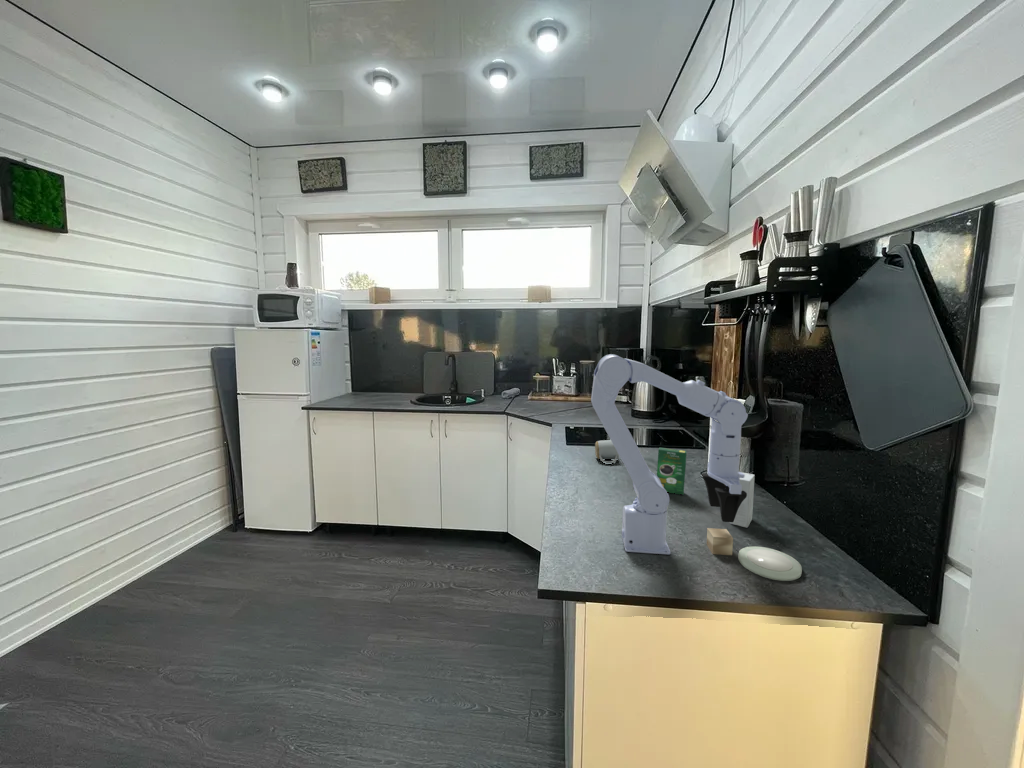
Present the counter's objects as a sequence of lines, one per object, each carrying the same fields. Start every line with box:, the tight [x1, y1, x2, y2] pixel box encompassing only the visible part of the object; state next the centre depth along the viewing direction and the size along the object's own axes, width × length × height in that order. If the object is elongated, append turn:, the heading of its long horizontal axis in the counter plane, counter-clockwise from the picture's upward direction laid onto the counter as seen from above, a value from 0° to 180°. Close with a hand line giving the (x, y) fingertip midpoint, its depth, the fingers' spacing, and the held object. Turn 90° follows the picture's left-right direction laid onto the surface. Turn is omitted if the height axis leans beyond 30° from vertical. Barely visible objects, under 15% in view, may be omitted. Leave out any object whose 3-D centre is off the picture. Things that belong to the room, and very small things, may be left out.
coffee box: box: [656, 447, 688, 496], centre depth 123 cm, size 8×3×13 cm, turn 65°
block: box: [706, 527, 734, 556], centre depth 90 cm, size 4×4×4 cm
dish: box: [737, 545, 803, 582], centre depth 84 cm, size 11×11×1 cm
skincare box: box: [728, 471, 756, 528], centre depth 103 cm, size 6×4×12 cm
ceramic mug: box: [594, 439, 620, 464], centre depth 153 cm, size 11×8×8 cm
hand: (721, 513), depth 90 cm, fingers open, 7 cm apart
